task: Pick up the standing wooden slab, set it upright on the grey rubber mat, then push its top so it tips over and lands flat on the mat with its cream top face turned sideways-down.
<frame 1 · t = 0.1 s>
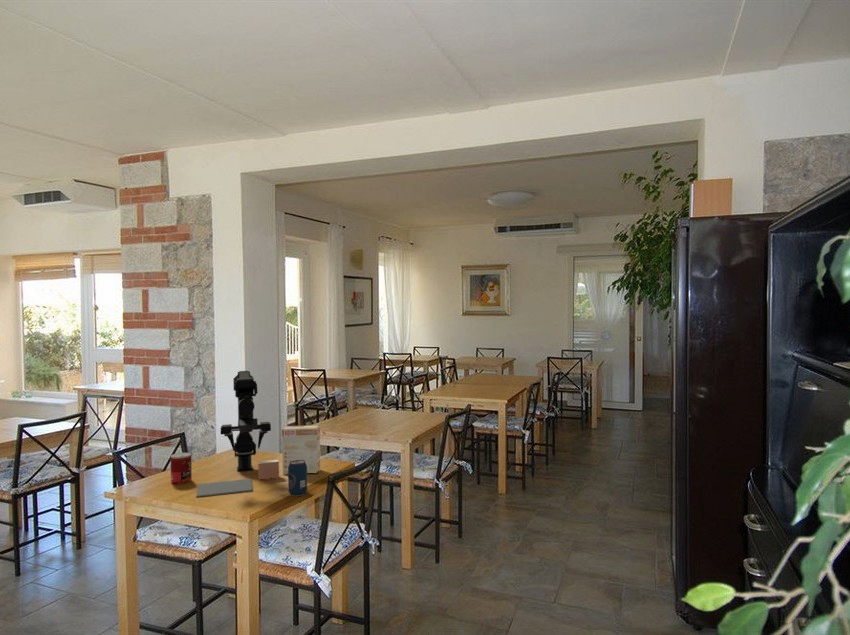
hand: (246, 449, 221), 15 cm above the table, tool pointing down, fingers open, 9 cm apart
mat: (225, 488, 219), on the table
soda can: (298, 494, 211), on the table
slab: (268, 478, 232), on the table
coffeecake box: (301, 472, 241), on the table
canned food: (181, 482, 230), on the table
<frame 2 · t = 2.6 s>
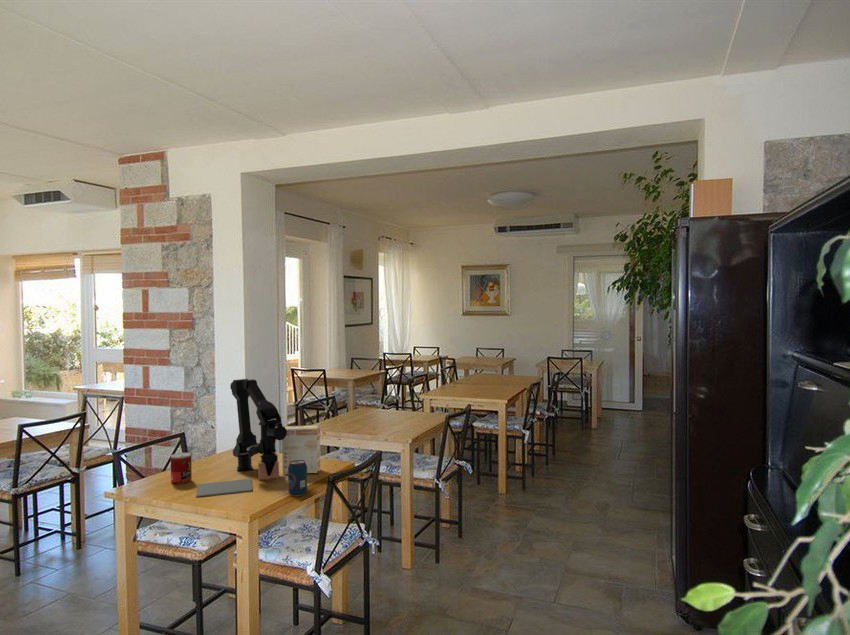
hand: (268, 474, 232), 2 cm above the table, tool pointing down, fingers closed on slab, 3 cm apart
slab: (268, 478, 232), on the table, touching gripper
everything else where it was.
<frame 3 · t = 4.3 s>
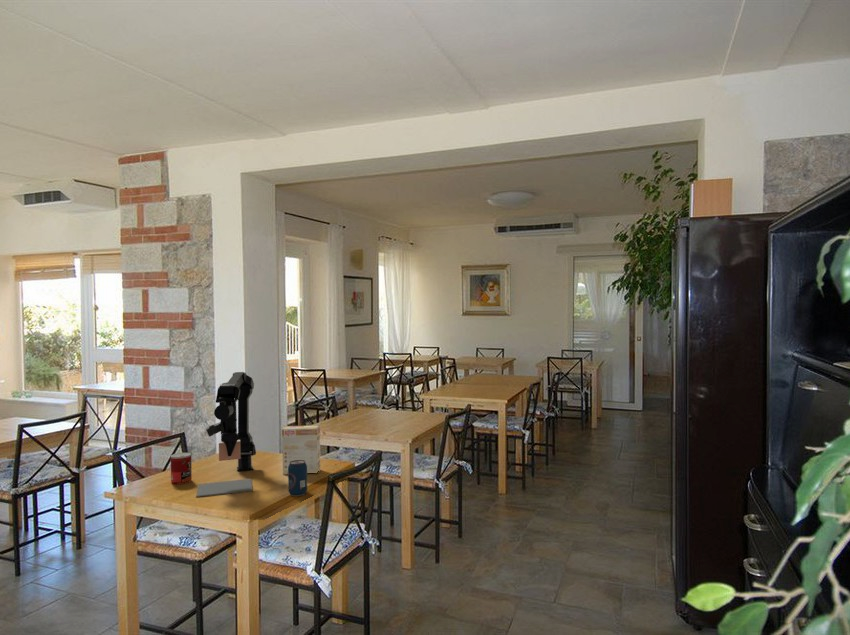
hand: (229, 455, 222), 12 cm above the table, tool pointing down, fingers closed on slab, 3 cm apart
slab: (229, 459, 222), point 11 cm above the table, touching gripper
everything else where it was.
when the fingers open (2 cm above the table, at t = 6.5 s): slab stays where it is, resting on mat.
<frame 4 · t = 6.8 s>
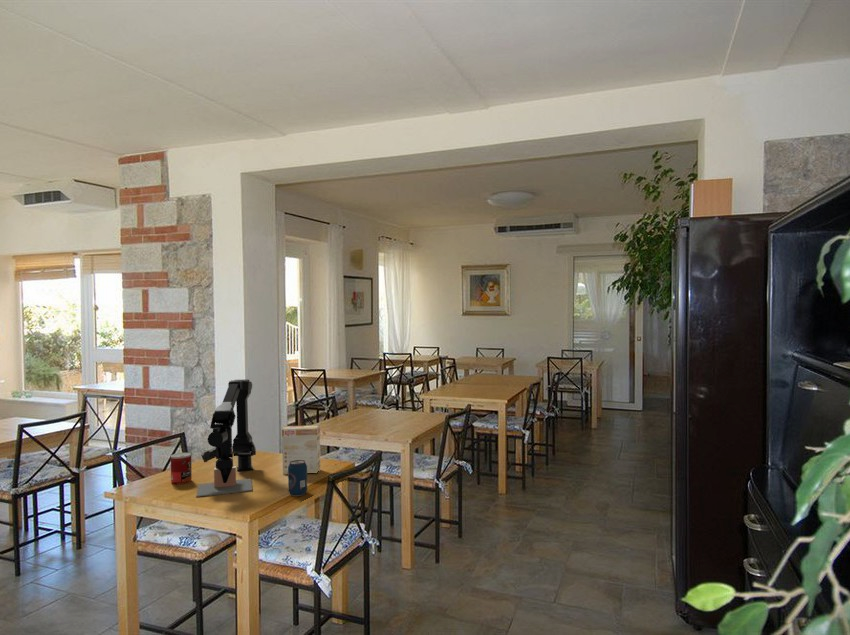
hand: (225, 480, 221), 2 cm above the table, tool pointing down, fingers open, 6 cm apart
slab: (225, 485, 221), point 1 cm above the table, touching mat
everything else where it was.
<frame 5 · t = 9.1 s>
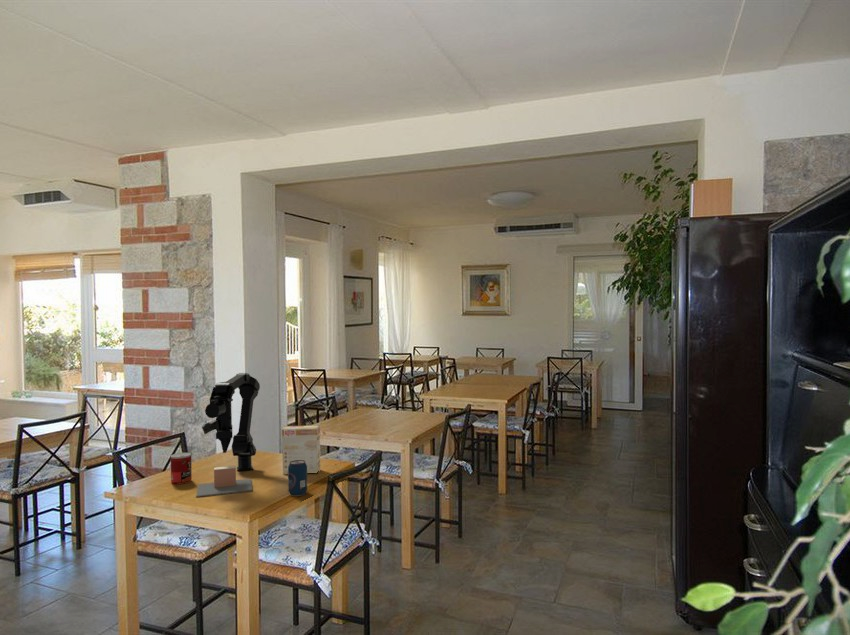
hand: (224, 452, 229), 12 cm above the table, tool pointing down, fingers closed
nothing on the table moved.
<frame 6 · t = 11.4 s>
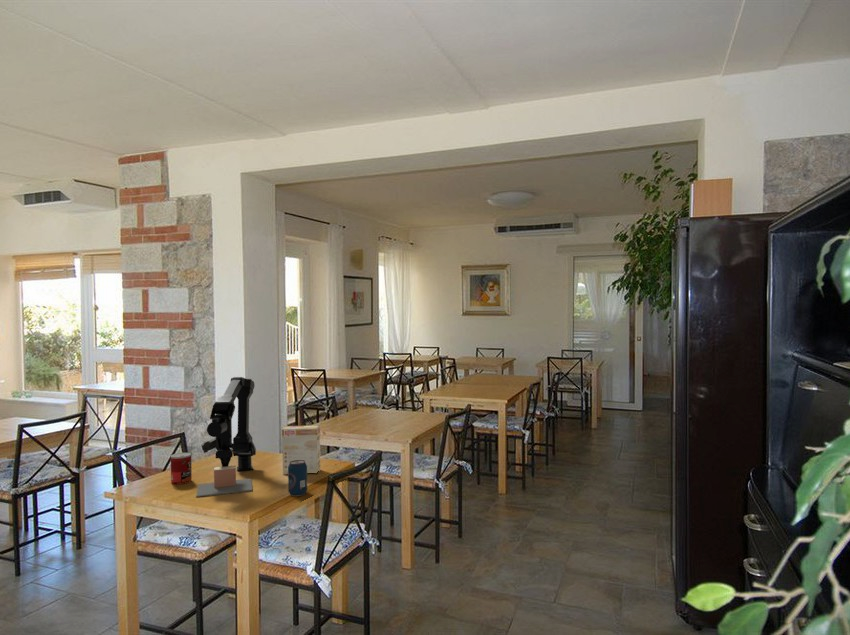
hand: (224, 471, 223), 6 cm above the table, tool pointing down, fingers closed
slab: (225, 485, 221), point 1 cm above the table, touching gripper, mat
everything else where it was.
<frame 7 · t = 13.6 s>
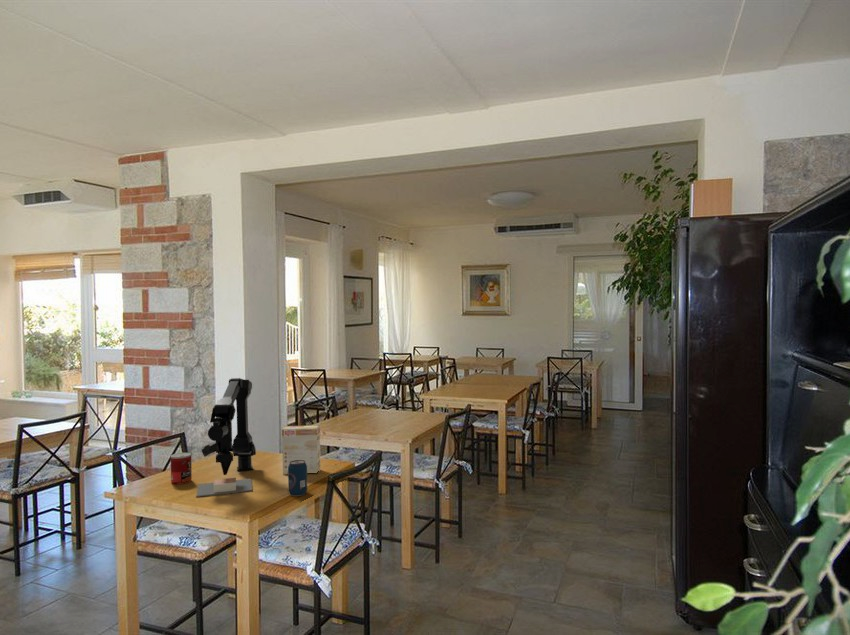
hand: (225, 474, 220), 5 cm above the table, tool pointing down, fingers closed
slab: (225, 482, 220), point 2 cm above the table, tilted 90°, touching mat
everything else where it was.
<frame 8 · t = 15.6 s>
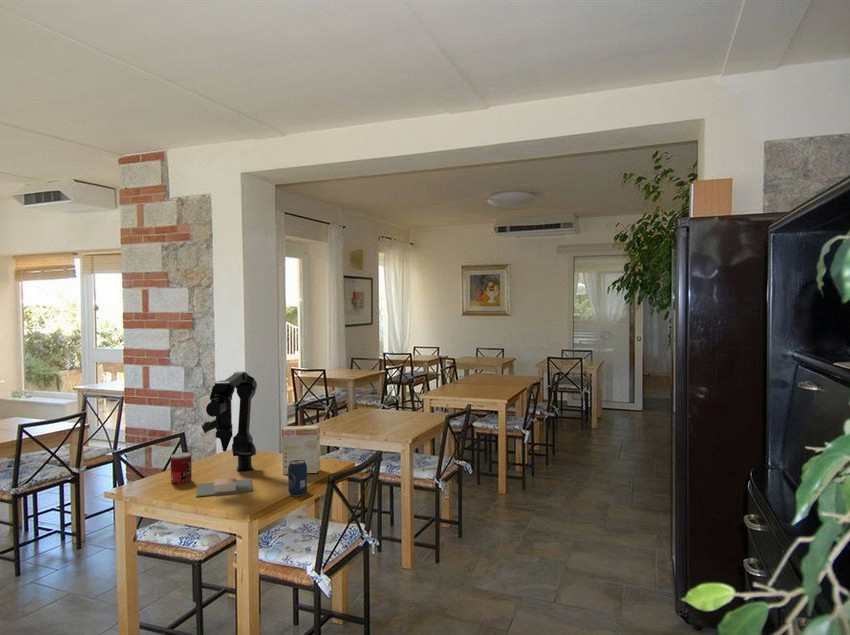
hand: (224, 451, 226), 13 cm above the table, tool pointing down, fingers closed
nothing on the table moved.
at the end: slab tilted 90°; slab inside the target area (1.5 cm from its centre), point 2.1 cm above the table; the gripper is holding nothing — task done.
